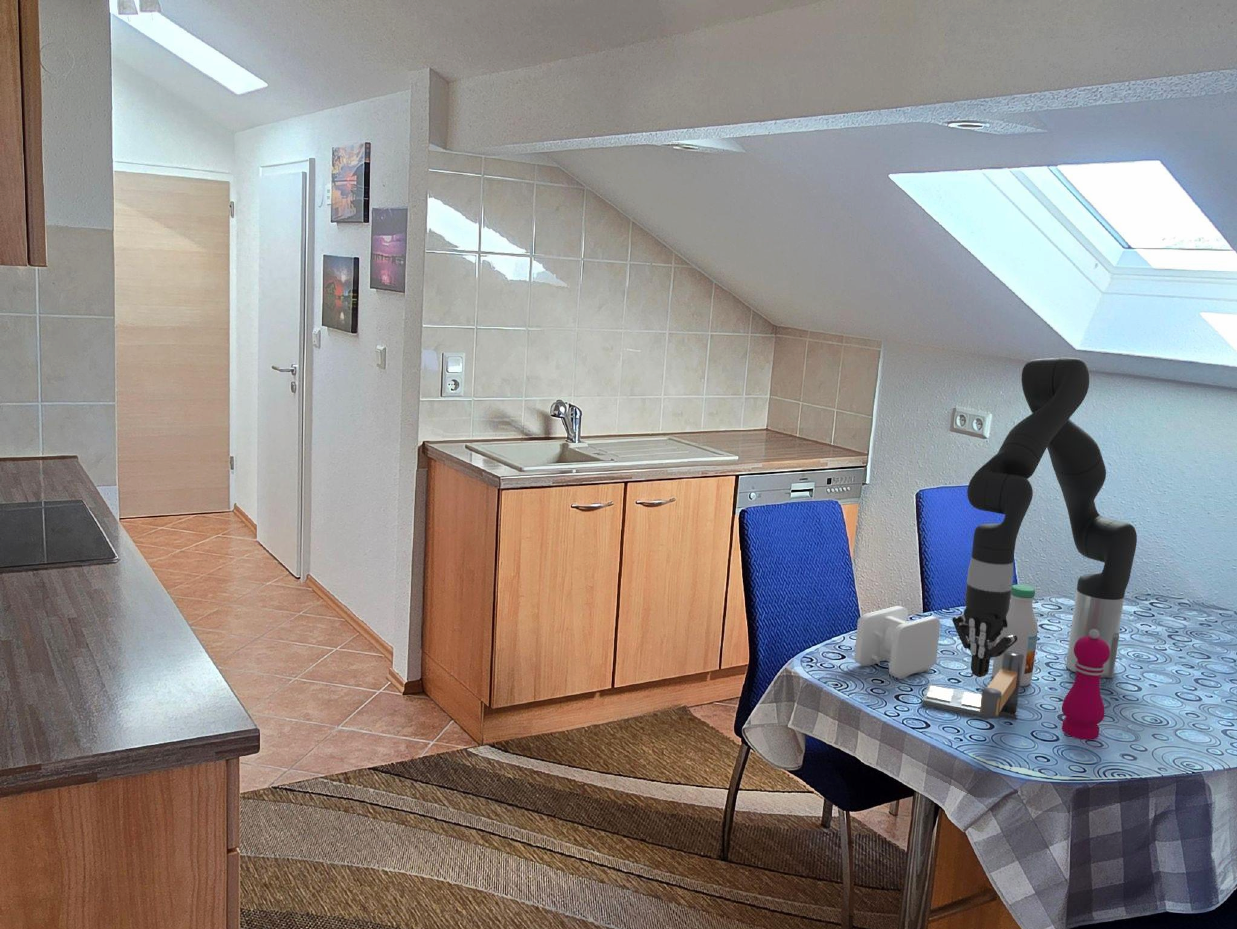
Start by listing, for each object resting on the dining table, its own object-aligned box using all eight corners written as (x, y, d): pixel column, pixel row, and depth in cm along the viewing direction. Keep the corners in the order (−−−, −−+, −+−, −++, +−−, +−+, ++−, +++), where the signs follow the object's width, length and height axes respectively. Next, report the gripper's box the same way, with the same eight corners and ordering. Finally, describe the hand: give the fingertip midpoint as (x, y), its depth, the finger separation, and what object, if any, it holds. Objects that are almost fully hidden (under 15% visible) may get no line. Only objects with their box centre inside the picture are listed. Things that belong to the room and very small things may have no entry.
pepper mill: (1051, 723, 196) (1065, 622, 192) (1088, 724, 197) (1103, 623, 193) (1070, 741, 189) (1086, 636, 185) (1109, 741, 190) (1125, 637, 186)
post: (1017, 711, 201) (1025, 652, 198) (1016, 719, 197) (1024, 659, 195) (995, 707, 202) (1003, 648, 200) (994, 715, 199) (1001, 655, 196)
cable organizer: (891, 683, 212) (897, 629, 209) (850, 666, 220) (856, 613, 217) (936, 669, 221) (942, 616, 219) (895, 653, 229) (900, 602, 227)
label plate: (990, 701, 205) (991, 694, 205) (987, 719, 197) (988, 711, 196) (927, 689, 209) (928, 682, 209) (921, 705, 201) (922, 698, 201)
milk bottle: (1012, 689, 212) (1025, 594, 208) (983, 675, 218) (995, 583, 215) (1039, 684, 215) (1052, 591, 212) (1009, 670, 222) (1021, 580, 218)
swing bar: (997, 687, 197) (1000, 664, 196) (1015, 691, 196) (1018, 669, 195) (977, 715, 184) (980, 692, 183) (996, 720, 182) (999, 696, 181)
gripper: (1034, 591, 182) (1023, 684, 186) (973, 570, 193) (963, 659, 197) (1006, 597, 178) (995, 692, 182) (945, 575, 189) (935, 666, 193)
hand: (978, 675), depth 189 cm, fingers closed
